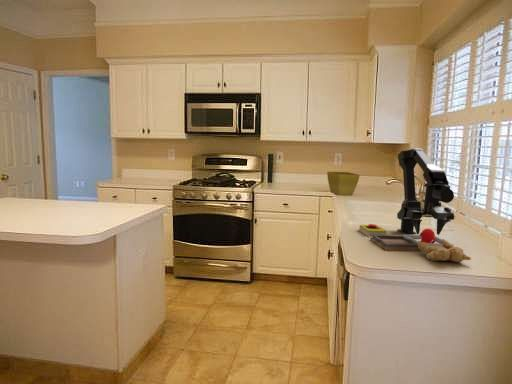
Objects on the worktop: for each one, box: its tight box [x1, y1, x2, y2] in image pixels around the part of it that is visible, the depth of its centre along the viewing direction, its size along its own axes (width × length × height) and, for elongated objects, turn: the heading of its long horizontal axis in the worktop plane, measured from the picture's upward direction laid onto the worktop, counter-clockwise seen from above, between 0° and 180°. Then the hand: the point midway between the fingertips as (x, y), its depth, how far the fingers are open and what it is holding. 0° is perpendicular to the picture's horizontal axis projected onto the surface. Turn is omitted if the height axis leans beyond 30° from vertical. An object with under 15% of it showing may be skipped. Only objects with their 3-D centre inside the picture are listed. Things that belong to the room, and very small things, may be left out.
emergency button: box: [357, 223, 388, 238], centre depth 173 cm, size 9×4×15 cm
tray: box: [402, 234, 455, 247], centre depth 162 cm, size 15×15×2 cm
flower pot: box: [326, 171, 361, 196], centre depth 297 cm, size 19×19×17 cm
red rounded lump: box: [419, 228, 437, 244], centre depth 161 cm, size 8×6×6 cm
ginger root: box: [418, 238, 472, 263], centre depth 138 cm, size 16×16×8 cm
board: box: [369, 235, 422, 252], centre depth 155 cm, size 15×15×2 cm
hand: (427, 234), depth 161 cm, fingers open, 9 cm apart
